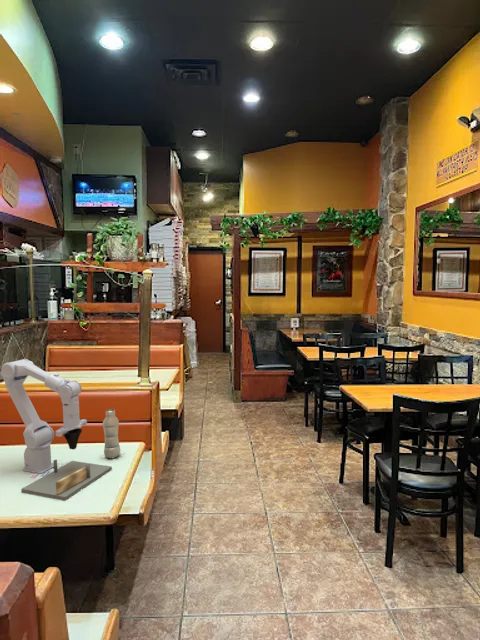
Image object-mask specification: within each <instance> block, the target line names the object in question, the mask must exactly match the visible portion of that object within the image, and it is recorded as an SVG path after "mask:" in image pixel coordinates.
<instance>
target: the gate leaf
mask: <svg viewBox="0 0 480 640" xmlns="http://www.w3.org/2000/svg"><path fill="white" fill-rule="evenodd" d="M86 478H87V470H86V467H84V468H82V469H80V470H78V471H76V472H74V473H72V474H70V475H68V476H66V477H64V478H63V479H61V480H59V481H57V482H56V494H60V493H61V492H63V491H65V490H67V489H68V488H70V487H72V486H74V485H76V484H77V483H79V482H81V481H83V480H85V479H86Z"/></svg>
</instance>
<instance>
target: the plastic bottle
mask: <svg viewBox="0 0 480 640" xmlns="http://www.w3.org/2000/svg"><path fill="white" fill-rule="evenodd" d="M119 425H120V421H119V419H118V417H117V416H116V409H115V408H108V409H106V410H105V418H104V419H103V421H102V428H103V433H104V448H103V454H104V457H105V458H107V459H115V458H117V457H119V456H120V454H121V446H120V442H119Z"/></svg>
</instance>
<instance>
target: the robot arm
mask: <svg viewBox="0 0 480 640" xmlns="http://www.w3.org/2000/svg"><path fill="white" fill-rule="evenodd" d="M0 375H1V377H2V379H3V381H4V384H5V388H6V390H7V392H8V394H9V396H10V398H11V400H12V403H13V404H14V405H15V408H16V410H17V412H18V414H19V416H20V418H21V420H22V421H23V424H24V426H25V429H24V431H23V432H22V435H23V437H24V443H25V446H26V448H25V449H24V452H23V461H24V462H23V463H24V468H23V469H22V471H25V472H30V473H35V474H36V473H37V474H43V473H46V472H47V471H49V470H51V469H52V468H53V469H54V463H52V452H51V451H52V450H51V449H52V448H51V444H52V441H53V440H54V438H55V436H56V437H62V436H63V437H64V438H65V440H66V442H67V444H68V448H69V450H76V449H77V447H78V441H79V439H80V436H81V434H82V432H83V430H82V429H83V428H82V427H83V426H86V425H88V420H87V419H85V418H83V419H81V418H80V397H79V396H80V394H81V392H82V386H81V384H80V383H79V381H77V380H72V381H71V380H69V379H68V378H64V377H62V376H61V375H60V373H57V372H56V373H51V374H50V373H48V372H47V371H45V370H44V369H41V368H40V367H39V366H37V365H35V364H34V362H33V361H32V360H29V359H28V358H22V359H19V360H14V361H10V362H5V363H3V364H2V366H1V370H0ZM28 376H29V377H32V378H34V379H36V380H39V381H41V382H43V383H44V386H45V387H46V388H48V389H50V390H52V391H53V392H56V393H58V396H59V397H60V399H61V403H62V414H63V415H62V417H63V418H62V419H63V425H62V426H61V427H60V428H58V429H57V430H55V431H54V430H53V428H52V427H51V426H49V424H48V422H47V421H44V420H43V419H41V418H40V416H39V414H38V412H37V411H36V409H35V407H34V404H33V403H32V401H31V399H30V398H29V395H28V393H27V391H26V390H25V387H24V382H25V381H26V379H27V378H28Z"/></svg>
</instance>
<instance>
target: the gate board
mask: <svg viewBox="0 0 480 640" xmlns="http://www.w3.org/2000/svg"><path fill="white" fill-rule="evenodd" d="M53 464H54V467H53V471H51V472H49V473H47V474H46V475H44V476H42V477H41V478H38V479H37V480H35V481H33V482H31V483H29V484H28V485H26V486H24V487H22V488H21V489H20V490H21V493H25V494H29V495H34V496H39V497H43V498H50V499H53V500H54V499H55V500H60V501H68V500H69V499H70V498H71V497H73V496H75V495H76V494H78V493H79V492H80V490H81V489H82V490H84V489H85V488H87V487H88V486H90V485H91V484H92V483H94V482H96V481H97V480H99V479H100V478H101V477H103V476H104V475H106V474H107V473H109V472H110V471H112V470H113V468H112V466H109V465H103V464H96V463H91V462H83V461H77V460H70V461H69V462H67V463H65V464H64V465H62V466H60V467H59V468H58V459H54V460H53ZM84 467H86V470H87V478H86V479H85V480H83V481H81V482H79V483H77V484H76V485H74V486H72V487H70V488H68V489H67V490H65V491H63V492H61V493H60V494H56V482H57V481H59V480H61V479H63V478H64V477H66V476H68V475H70V474H72V473H74V472H76V471H78V470H80V469H82V468H84ZM83 488H84V489H83ZM82 490H81V491H82ZM77 492H78V493H77ZM74 494H75V495H74Z"/></svg>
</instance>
